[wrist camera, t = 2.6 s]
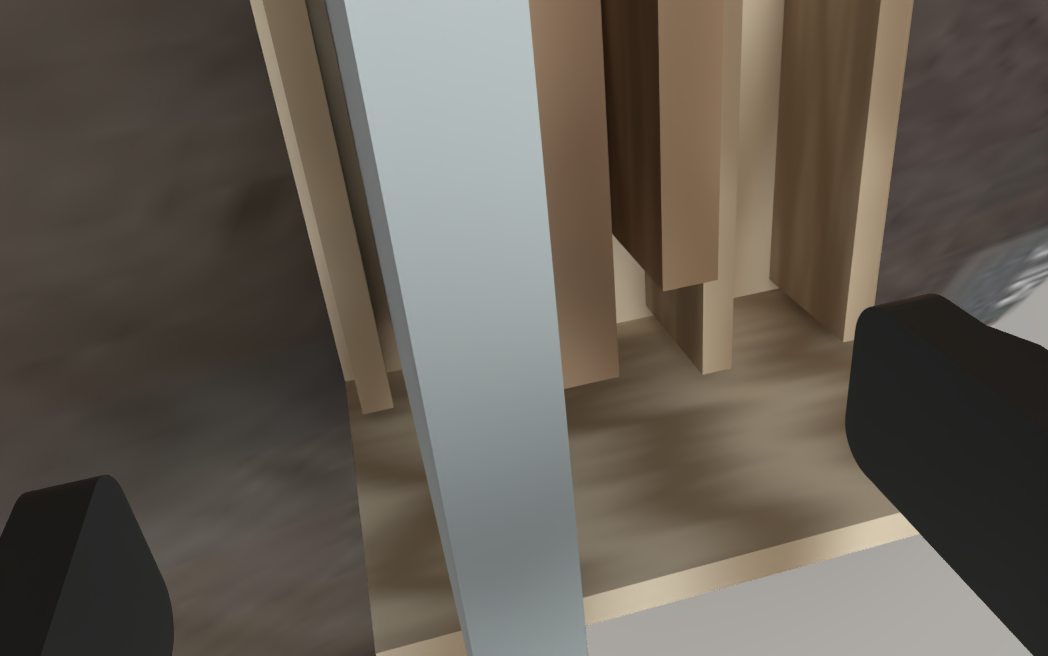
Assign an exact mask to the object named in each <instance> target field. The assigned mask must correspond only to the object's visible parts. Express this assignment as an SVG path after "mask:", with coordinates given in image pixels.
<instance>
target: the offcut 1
mask: <svg viewBox="0 0 1048 656" xmlns="http://www.w3.org/2000/svg"><path fill="white" fill-rule="evenodd" d="M529 11H530V22H531V33H532V44H533V55H534V66H535V77H536V88H537V99H538V110H539V121H540V132H541V143H542V154H543V165H544V176H545V187H546V198H547V209H548V220H549V231H550V242H551V253H552V264H553V275H554V286H555V297H556V308H557V319H558V330H559V341H560V352H561V363H562V374H563V385H564V389H567V388H571V387H576V386H580V385H584V384H589V383H593V382H598V381H602V380H606V379H611V378H615V377H619V362H618V342H617V322H616V301H615V281H614V261H613V241H612V221H611V201H610V181H609V161H608V141H607V120H606V100H605V80H604V60H603V40H602V20H601V0H529Z"/></svg>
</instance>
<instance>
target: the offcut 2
mask: <svg viewBox="0 0 1048 656" xmlns="http://www.w3.org/2000/svg"><path fill="white" fill-rule="evenodd" d="M723 7H724V0H601V20H602V40H603V60H604V80H605V100H606V120H607V141H608V161H609V181H610V201H611V221H612V234H613V236H614V237H615V238H616V239H617V240H618V241H619V242H620V243H621V245H622V246H623V247H624V248H625V249H626V250H627V251H628V253H629V254H630V255H631V256H632V257H633V258H634V259H635V261H636V262H637V263H638V264H639V265H640V266H641V267H642V268H643V270H644V271H645V272H646V273H647V274H648V275H649V276H650V278H651V279H652V280H653V281H654V282H655V283H656V284H657V285H658V287H659V288H660V289H661V290H662V291H668V290H672V289H677V288H682V287H687V286H691V285H696V284H701V283H706V282H710V281H715V280H718V249H719V200H720V152H721V104H722V55H723Z"/></svg>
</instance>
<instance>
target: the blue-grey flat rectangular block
mask: <svg viewBox="0 0 1048 656" xmlns="http://www.w3.org/2000/svg"><path fill="white" fill-rule="evenodd" d="M325 5H326V10H327V15H328V20H329V24H330V29H331V34H332V39H333V44H334V48H335V53H336V58H337V63H338V68H339V73H340V77H341V82H342V87H343V92H344V97H345V101H346V106H347V111H348V116H349V121H350V126H351V130H352V135H353V140H354V145H355V150H356V154H357V159H358V164H359V169H360V174H361V179H362V183H363V188H364V193H365V198H366V203H367V207H368V212H369V217H370V222H371V227H372V232H373V236H374V241H375V246H376V251H377V256H378V260H379V265H380V270H381V275H382V280H383V285H384V289H385V294H386V299H387V304H388V309H389V313H390V318H391V323H392V327H393V332H394V336H395V341H396V345H397V349H398V354H399V358H400V363H401V367H402V371H403V376H404V380H405V385H406V389H407V393H408V398H409V402H410V406H411V411H412V415H413V420H414V424H415V428H416V433H417V437H418V442H419V446H420V450H421V455H422V459H423V464H424V468H425V472H426V477H427V481H428V486H429V490H430V494H431V499H432V503H433V508H434V512H435V516H436V521H437V525H438V530H439V534H440V538H441V543H442V547H443V552H444V556H445V560H446V565H447V569H448V574H449V578H450V582H451V587H452V591H453V596H454V600H455V604H456V609H457V613H458V618H459V622H460V626H461V631H462V635H463V640H464V644H465V648H466V653H467V656H588V649H587V639H586V627H585V616H584V605H583V594H582V583H581V572H580V561H579V550H578V539H577V528H576V517H575V506H574V495H573V484H572V473H571V462H570V451H569V440H568V429H567V418H566V407H565V396H564V385H563V374H562V363H561V352H560V341H559V330H558V319H557V308H556V297H555V286H554V275H553V264H552V253H551V242H550V231H549V220H548V209H547V198H546V187H545V176H544V165H543V154H542V143H541V132H540V121H539V110H538V99H537V88H536V77H535V66H534V55H533V44H532V33H531V22H530V11H529V0H325Z"/></svg>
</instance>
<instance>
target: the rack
mask: <svg viewBox="0 0 1048 656" xmlns="http://www.w3.org/2000/svg"><path fill="white" fill-rule="evenodd" d="M913 1H914V0H724V7H723V55H722V104H721V152H720V200H719V249H718V280H715V281H710V282H706V283H701V284H696V285H691V286H687V287H682V288H677V289H672V290H668V291H662V290H661V289H660V288H659V287H658V285H657V284H656V283H655V282H654V281H653V280H652V279H651V278H650V276H649V275H648V274H647V273H646V272H645V271H644V270H643V268H642V267H641V266H640V265H639V264H638V263H637V262H636V261H635V259H634V258H633V257H632V256H631V255H630V254H629V253H628V251H627V250H626V249H625V248H624V247H623V246H622V245H621V243H620V242H619V241H618V240H617V239H616V238H615V237H614V236H613V234H612V241H613V261H614V281H615V301H616V322H617V342H618V362H619V377H615V378H611V379H606V380H602V381H598V382H593V383H589V384H584V385H580V386H576V387H571V388H567V389H564V396H565V407H566V418H567V429H568V440H569V451H570V462H571V473H572V484H573V495H574V506H575V517H576V528H577V539H578V550H579V561H580V572H581V583H582V594H583V605H584V616H585V626H587V625H591V624H595V623H598V622H602V621H606V620H609V619H613V618H616V617H620V616H624V615H627V614H631V613H635V612H638V611H642V610H646V609H649V608H653V607H656V606H660V605H663V604H667V603H671V602H674V601H678V600H682V599H685V598H689V597H693V596H696V595H700V594H704V593H707V592H711V591H715V590H718V589H722V588H725V587H729V586H733V585H736V584H740V583H744V582H747V581H751V580H754V579H758V578H762V577H765V576H769V575H772V574H776V573H780V572H783V571H787V570H791V569H795V568H798V567H802V566H806V565H809V564H813V563H816V562H820V561H823V560H827V559H831V558H835V557H838V556H842V555H846V554H849V553H853V552H856V551H860V550H863V549H867V548H871V547H875V546H878V545H882V544H885V543H889V542H893V541H896V540H900V539H904V538H907V537H911V536H915V535H918V534H920V533H919V532H918V531H917V530H916V529H915V528H914V527H913V526H912V525H911V524H910V523H909V521H908V520H907V519H906V518H905V517H904V516H903V515H902V514H901V513H900V512H899V511H898V510H897V509H896V507H895V506H894V505H893V504H892V503H891V502H890V501H889V500H888V499H887V498H886V497H885V496H884V495H883V493H882V492H881V491H880V490H879V489H878V488H877V487H876V486H875V485H874V484H873V483H872V482H871V481H870V480H869V478H868V477H867V476H866V475H865V474H864V473H863V472H862V470H861V469H860V468H859V466H858V465H857V463H856V461H855V459H854V457H853V455H852V453H851V450H850V447H849V444H848V440H847V436H846V430H845V414H846V406H847V397H848V388H849V379H850V370H851V362H852V353H853V344H854V335H855V328H856V323H857V320H858V317H859V316H860V314H861V313H862V312H863V310H865V309H866V308H868V307H872V306H874V303H875V295H876V288H877V280H878V272H879V264H880V257H881V249H882V241H883V233H884V226H885V218H886V210H887V203H888V195H889V187H890V179H891V172H892V164H893V156H894V148H895V141H896V133H897V125H898V117H899V110H900V102H901V94H902V87H903V79H904V71H905V63H906V56H907V48H908V40H909V32H910V25H911V17H912V9H913ZM250 3H251V7H252V11H253V15H254V19H255V23H256V27H257V31H258V35H259V39H260V43H261V47H262V51H263V55H264V59H265V63H266V67H267V71H268V75H269V79H270V83H271V87H272V91H273V95H274V99H275V103H276V107H277V111H278V115H279V119H280V123H281V127H282V131H283V135H284V139H285V143H286V147H287V151H288V155H289V159H290V163H291V167H292V171H293V175H294V179H295V183H296V187H297V191H298V195H299V199H300V203H301V207H302V211H303V215H304V219H305V223H306V227H307V231H308V235H309V239H310V243H311V247H312V251H313V255H314V259H315V263H316V267H317V271H318V275H319V279H320V283H321V287H322V291H323V295H324V299H325V303H326V307H327V311H328V315H329V319H330V323H331V327H332V331H333V335H334V339H335V343H336V347H337V351H338V355H339V359H340V363H341V367H342V371H343V375H344V379H345V384H346V393H347V402H348V411H349V420H350V429H351V438H352V447H353V455H354V464H355V473H356V482H357V491H358V500H359V509H360V518H361V527H362V536H363V545H364V554H365V563H366V572H367V581H368V590H369V598H370V607H371V616H372V625H373V634H374V643H375V652H376V656H467V653H466V648H465V644H464V640H463V635H462V631H461V626H460V622H459V618H458V613H457V609H456V604H455V600H454V596H453V591H452V587H451V582H450V578H449V574H448V569H447V565H446V560H445V556H444V552H443V547H442V543H441V538H440V534H439V530H438V525H437V521H436V516H435V512H434V508H433V503H432V499H431V494H430V490H429V486H428V481H427V477H426V472H425V468H424V464H423V459H422V455H421V450H420V446H419V442H418V437H417V433H416V428H415V424H414V420H413V415H412V411H411V406H410V402H409V398H408V393H407V389H406V385H405V380H404V376H403V371H402V367H401V363H400V358H399V354H398V349H397V345H396V341H395V336H394V332H393V327H392V323H391V318H390V313H389V309H388V304H387V299H386V294H385V289H384V285H383V280H382V275H381V270H380V265H379V260H378V256H377V251H376V246H375V241H374V236H373V232H372V227H371V222H370V217H369V212H368V207H367V203H366V198H365V193H364V188H363V183H362V179H361V174H360V169H359V164H358V159H357V154H356V150H355V145H354V140H353V135H352V130H351V126H350V121H349V116H348V111H347V106H346V101H345V97H344V92H343V87H342V82H341V77H340V73H339V68H338V63H337V58H336V53H335V48H334V44H333V39H332V34H331V29H330V24H329V20H328V15H327V10H326V5H325V0H250Z"/></svg>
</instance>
